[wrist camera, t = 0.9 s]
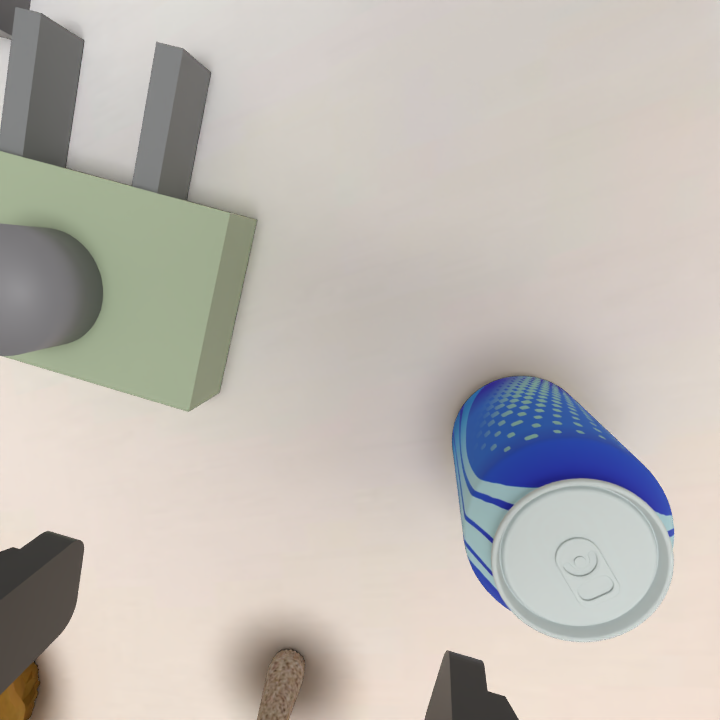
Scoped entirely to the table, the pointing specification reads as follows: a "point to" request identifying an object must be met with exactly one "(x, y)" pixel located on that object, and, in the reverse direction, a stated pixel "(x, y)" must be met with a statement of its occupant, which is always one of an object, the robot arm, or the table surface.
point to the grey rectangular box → (10, 15)
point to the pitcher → (20, 695)
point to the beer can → (559, 513)
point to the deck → (113, 234)
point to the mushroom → (282, 686)
